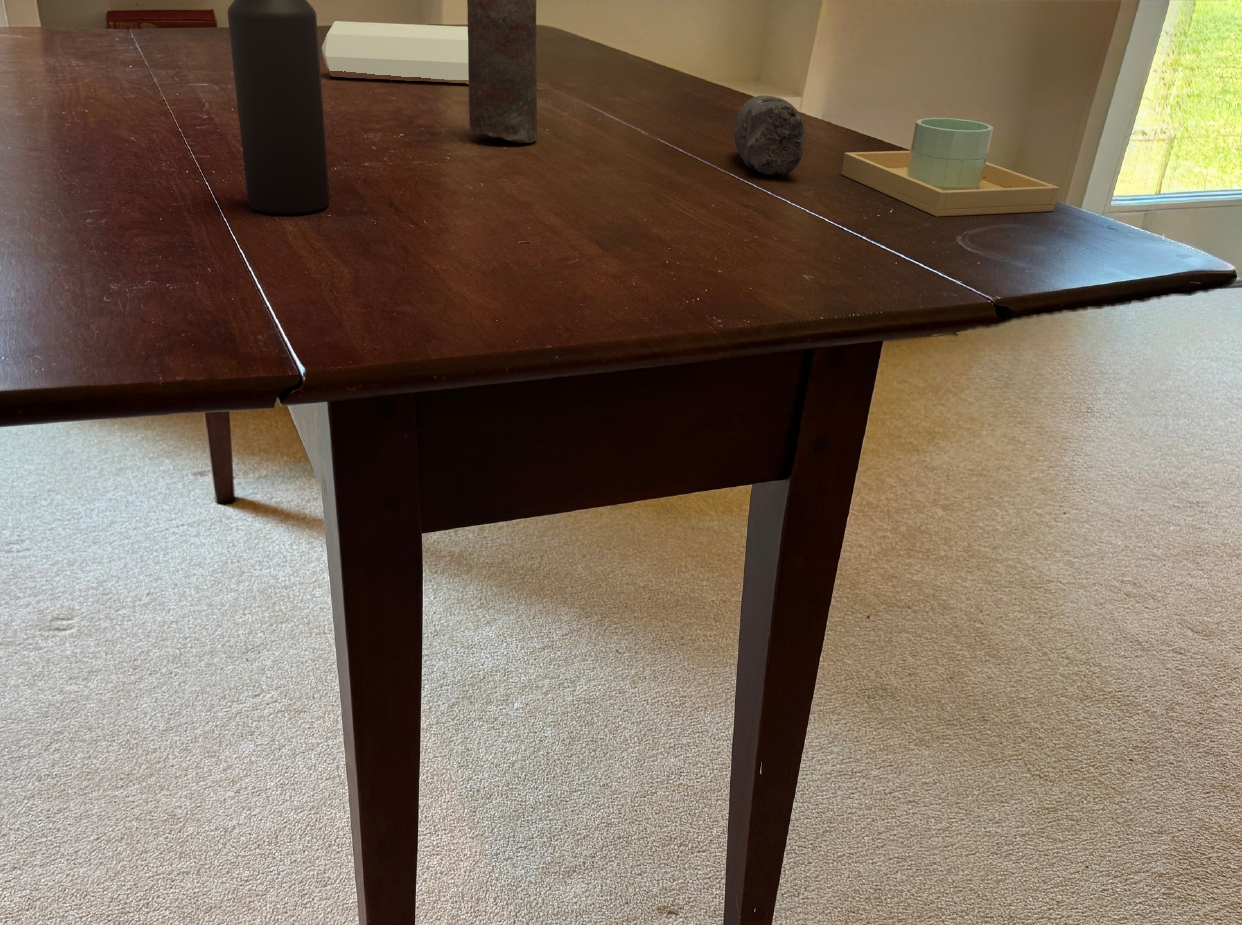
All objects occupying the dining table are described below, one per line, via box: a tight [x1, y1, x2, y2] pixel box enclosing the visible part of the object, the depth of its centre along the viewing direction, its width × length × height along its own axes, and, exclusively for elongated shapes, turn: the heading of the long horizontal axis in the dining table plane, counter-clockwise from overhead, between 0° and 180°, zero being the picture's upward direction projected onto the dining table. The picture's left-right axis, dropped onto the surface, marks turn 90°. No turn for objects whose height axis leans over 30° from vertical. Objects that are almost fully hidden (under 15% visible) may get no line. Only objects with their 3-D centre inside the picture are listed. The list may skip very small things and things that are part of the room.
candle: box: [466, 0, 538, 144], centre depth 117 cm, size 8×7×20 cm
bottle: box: [227, 0, 331, 216], centre depth 89 cm, size 7×7×20 cm
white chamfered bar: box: [321, 20, 469, 80], centre depth 158 cm, size 7×7×24 cm
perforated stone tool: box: [733, 94, 806, 176], centre depth 112 cm, size 15×5×7 cm, turn 3°
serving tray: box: [841, 150, 1060, 218], centre depth 106 cm, size 12×17×2 cm
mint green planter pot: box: [906, 117, 994, 191], centre depth 105 cm, size 7×7×6 cm
